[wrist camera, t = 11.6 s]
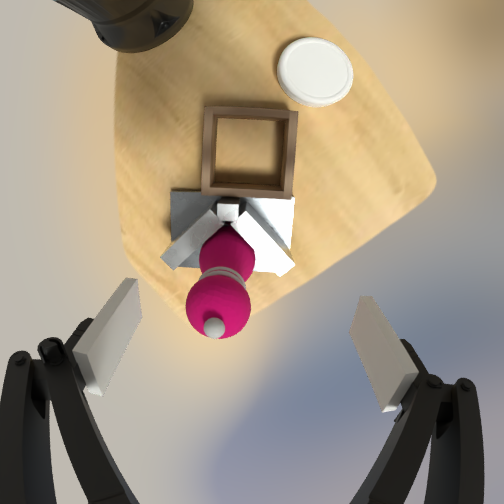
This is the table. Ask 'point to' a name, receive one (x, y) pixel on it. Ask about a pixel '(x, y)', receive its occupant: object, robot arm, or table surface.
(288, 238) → the v block
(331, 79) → the coaster
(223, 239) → the pepper mill
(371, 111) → the table surface
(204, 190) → the wooden square frame
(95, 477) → the robot arm
